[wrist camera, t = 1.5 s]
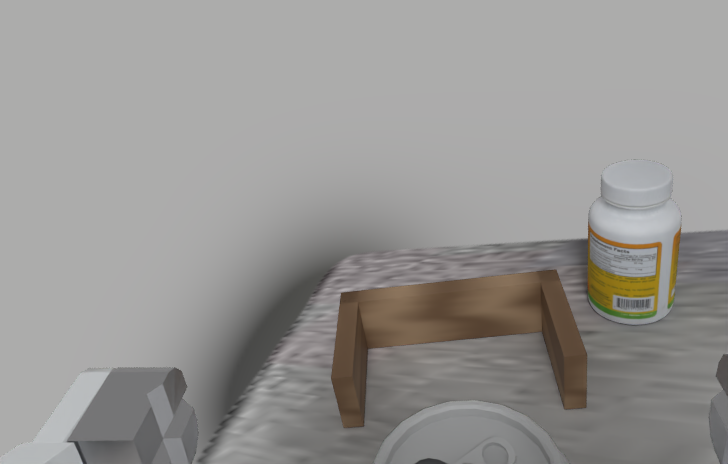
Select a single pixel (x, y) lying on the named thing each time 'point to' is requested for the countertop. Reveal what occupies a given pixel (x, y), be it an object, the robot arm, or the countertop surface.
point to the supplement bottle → (633, 243)
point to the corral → (456, 327)
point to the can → (469, 437)
